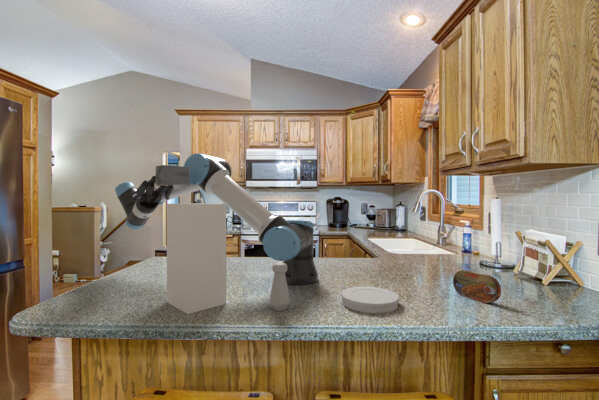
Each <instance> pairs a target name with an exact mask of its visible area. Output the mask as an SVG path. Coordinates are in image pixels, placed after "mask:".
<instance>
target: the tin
mask: <svg viewBox="0 0 599 400" xmlns="http://www.w3.org/2000/svg"><path fill="white" fill-rule="evenodd" d="M452 285H453V287H454V289H455V291H456V293H458V295H459V296H462V297H464V298H467V299H471V300H473V301H477V302H479V303H483V304H490V303H494V302H497V301H498V300H499V299H500V298H501V296H502V295H501V294H502V287H501V284H500V282H499V281H498V280H497V279H496V278H495V277H494V276H492V275H489V274H485V273H480V272H476V271H471V270H462V269H461V270H459V271H457V272H455V274H454V275H453V280H452Z"/></svg>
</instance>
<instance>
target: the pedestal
mask: <svg viewBox="0 0 599 400" xmlns="http://www.w3.org/2000/svg"><path fill="white" fill-rule="evenodd" d="M166 303H167V304H169V305H171V306H172V307H174V308H176V309H178V310H180V311H181V312H183V313H185V314H186V315H190V314H194V313H197V312H202V311H205V310H208V309H212V308H216V307H220V306H224V305H227V205H226V204H225V203H209V202H208V203H204V202H201V203H199V202H198V203H197V202H196V203H166Z"/></svg>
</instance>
